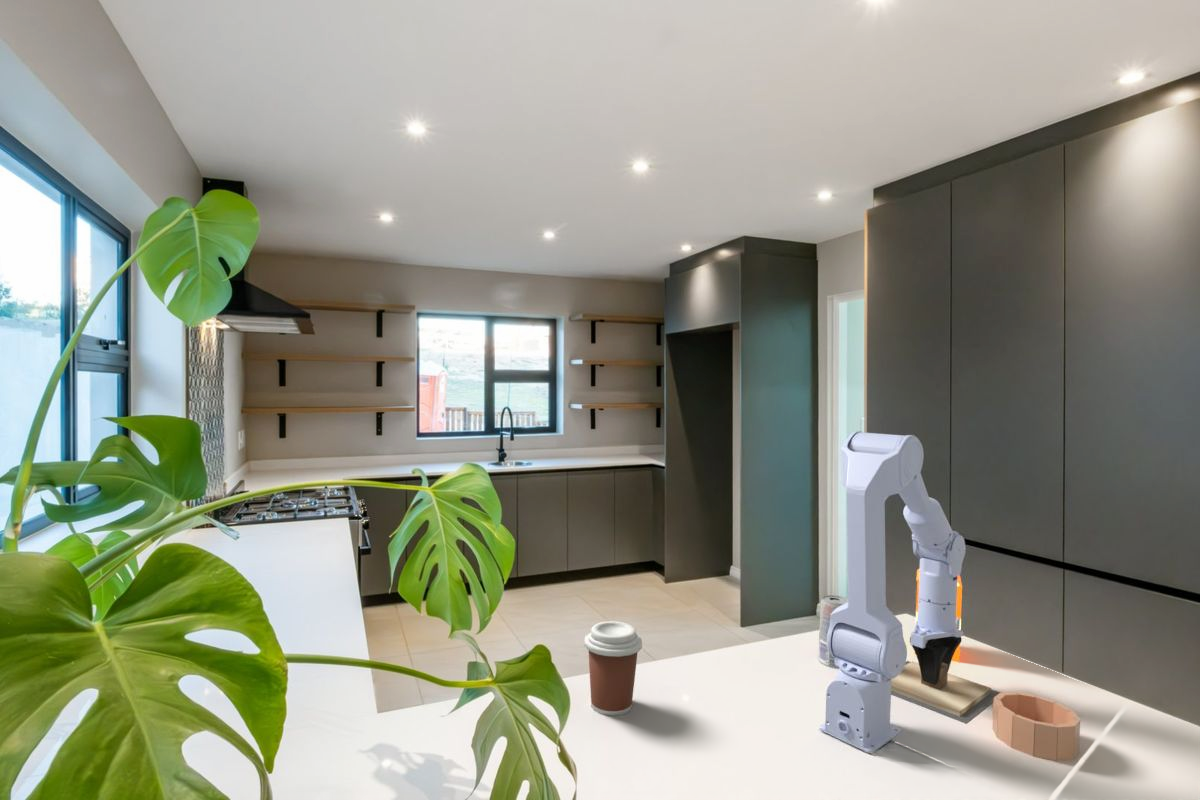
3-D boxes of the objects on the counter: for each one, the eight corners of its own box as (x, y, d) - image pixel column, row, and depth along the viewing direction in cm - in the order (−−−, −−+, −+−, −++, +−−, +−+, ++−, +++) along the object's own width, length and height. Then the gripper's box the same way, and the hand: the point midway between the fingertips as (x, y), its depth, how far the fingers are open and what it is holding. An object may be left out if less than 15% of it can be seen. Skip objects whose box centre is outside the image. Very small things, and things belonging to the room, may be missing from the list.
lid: (959, 716, 99) (960, 688, 99) (877, 685, 109) (878, 660, 109) (991, 692, 107) (991, 667, 107) (912, 665, 117) (913, 642, 117)
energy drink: (844, 659, 120) (847, 595, 120) (853, 671, 115) (855, 605, 115) (815, 657, 121) (817, 594, 120) (822, 669, 115) (824, 603, 115)
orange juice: (958, 648, 127) (961, 548, 127) (960, 664, 119) (964, 558, 119) (914, 640, 131) (917, 542, 130) (913, 655, 123) (917, 552, 122)
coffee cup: (587, 722, 95) (590, 641, 94) (577, 693, 104) (580, 619, 103) (647, 717, 96) (649, 638, 96) (632, 689, 105) (634, 617, 105)
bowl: (1065, 771, 85) (1066, 734, 85) (982, 739, 93) (984, 705, 93) (1086, 746, 92) (1087, 712, 92) (1007, 718, 100) (1008, 686, 99)
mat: (966, 726, 97) (966, 723, 97) (864, 686, 109) (864, 684, 109) (1004, 696, 107) (1004, 693, 107) (907, 662, 119) (907, 660, 119)
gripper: (944, 614, 100) (940, 701, 100) (979, 597, 109) (976, 676, 109) (899, 602, 105) (896, 684, 106) (936, 587, 115) (933, 662, 115)
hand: (934, 679), depth 108 cm, fingers closed on lid, 3 cm apart
